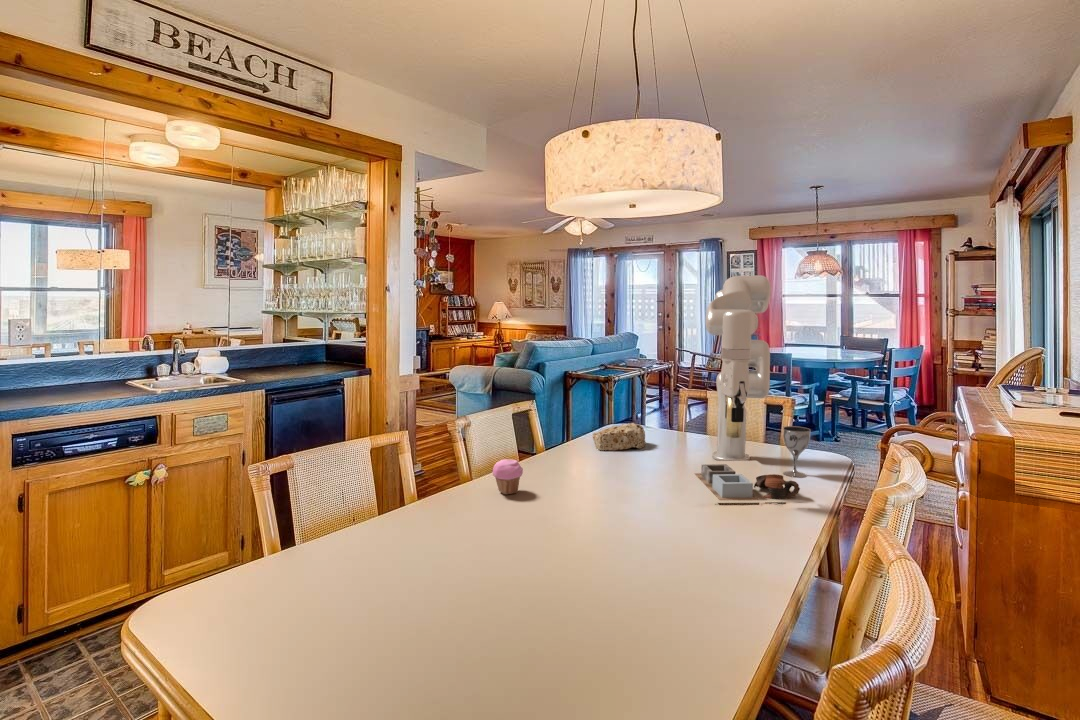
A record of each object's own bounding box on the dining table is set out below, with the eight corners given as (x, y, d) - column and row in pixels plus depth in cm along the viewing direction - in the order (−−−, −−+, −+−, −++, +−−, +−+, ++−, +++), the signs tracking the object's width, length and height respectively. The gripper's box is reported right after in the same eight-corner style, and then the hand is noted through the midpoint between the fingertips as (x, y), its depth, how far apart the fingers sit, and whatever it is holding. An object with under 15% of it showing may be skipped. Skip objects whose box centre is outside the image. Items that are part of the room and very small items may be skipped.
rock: (600, 455, 207) (596, 428, 208) (591, 454, 221) (587, 429, 222) (652, 447, 210) (648, 420, 211) (640, 446, 224) (636, 421, 225)
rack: (712, 487, 162) (712, 474, 162) (741, 487, 163) (741, 474, 162) (722, 497, 154) (722, 483, 154) (752, 497, 154) (752, 483, 154)
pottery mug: (753, 504, 155) (749, 475, 158) (761, 509, 162) (757, 481, 165) (800, 500, 149) (794, 470, 152) (806, 506, 156) (800, 477, 159)
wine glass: (793, 479, 175) (795, 432, 173) (776, 471, 183) (777, 426, 181) (814, 476, 177) (816, 430, 176) (796, 469, 185) (798, 425, 183)
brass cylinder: (724, 434, 159) (725, 392, 157) (737, 434, 159) (739, 392, 158) (728, 437, 155) (730, 395, 153) (743, 437, 155) (744, 395, 154)
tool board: (694, 478, 176) (694, 462, 176) (728, 477, 176) (729, 462, 176) (719, 505, 152) (720, 487, 152) (759, 505, 153) (760, 487, 152)
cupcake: (527, 494, 162) (527, 460, 161) (500, 499, 158) (500, 465, 157) (514, 485, 170) (513, 453, 169) (487, 490, 165) (487, 457, 164)
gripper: (712, 352, 163) (711, 414, 165) (733, 358, 146) (731, 426, 148) (738, 352, 163) (736, 414, 165) (761, 357, 146) (759, 426, 148)
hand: (734, 419), depth 156 cm, fingers closed on brass cylinder, 4 cm apart
